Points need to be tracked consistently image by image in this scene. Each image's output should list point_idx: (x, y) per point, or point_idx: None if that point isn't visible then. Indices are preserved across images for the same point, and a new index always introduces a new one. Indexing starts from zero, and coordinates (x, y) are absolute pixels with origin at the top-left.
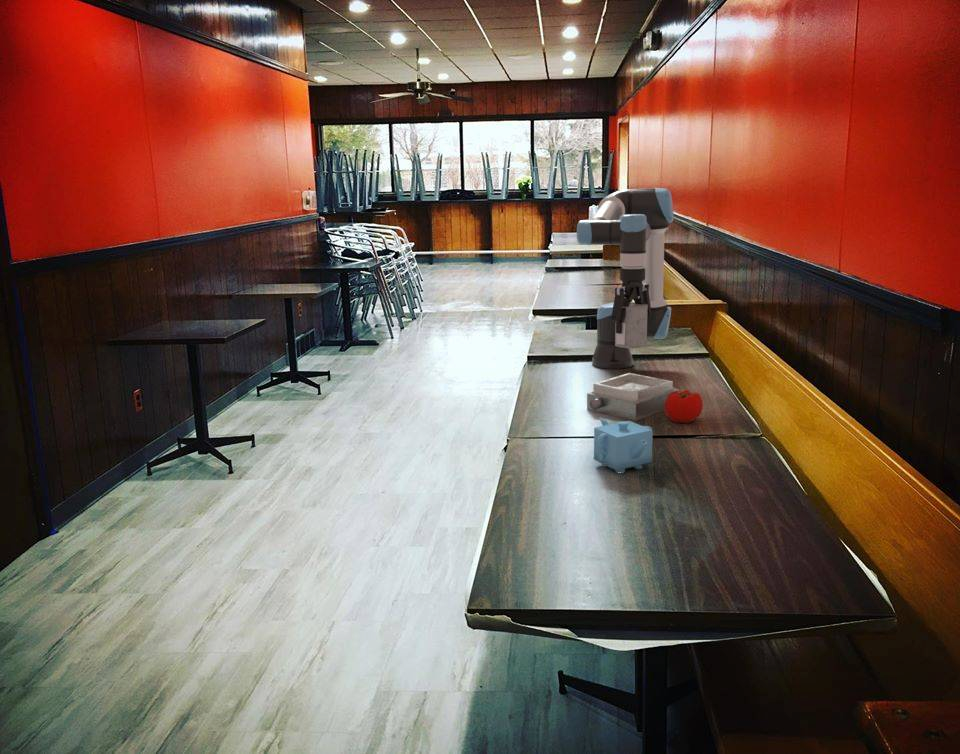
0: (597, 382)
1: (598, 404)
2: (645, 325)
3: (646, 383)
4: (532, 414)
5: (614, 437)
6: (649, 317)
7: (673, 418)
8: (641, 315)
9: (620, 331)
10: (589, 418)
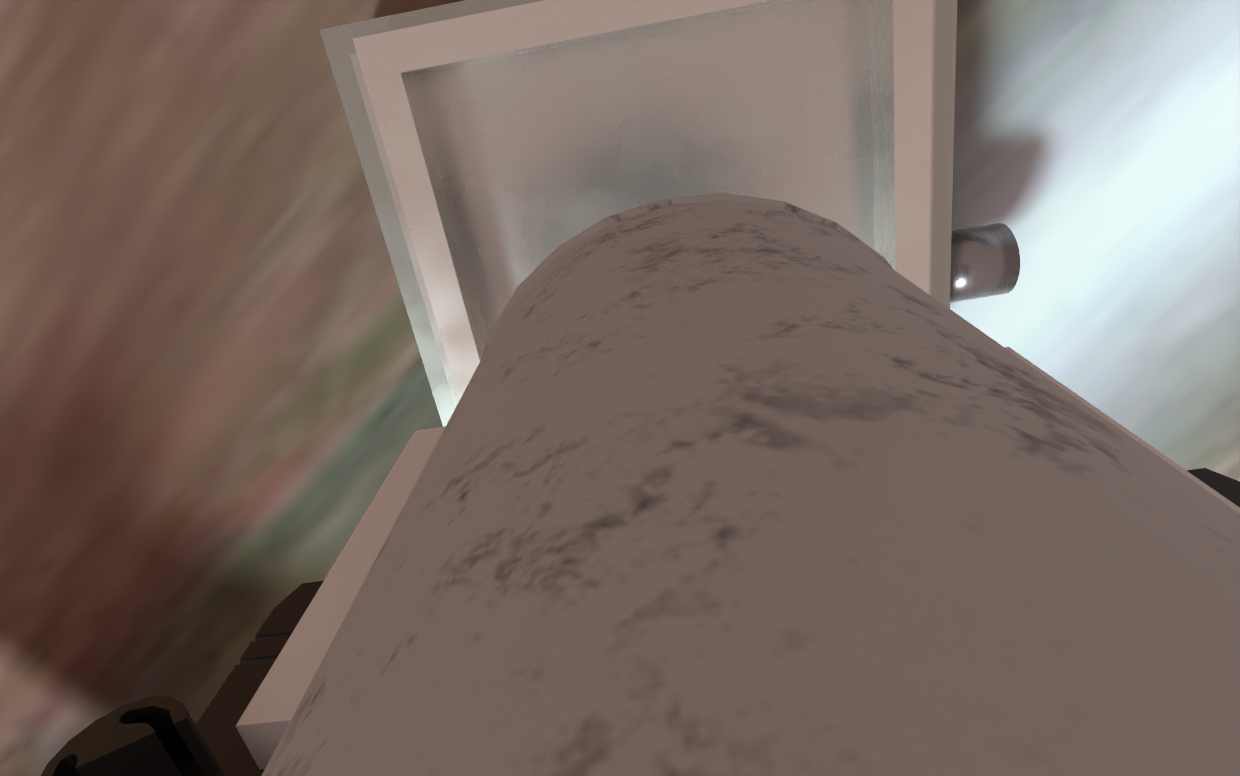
0: None
1: (997, 227)
2: (640, 330)
3: (472, 283)
4: (1187, 458)
5: None
6: (111, 714)
7: None
8: (1054, 509)
9: (1233, 496)
10: (1056, 195)
